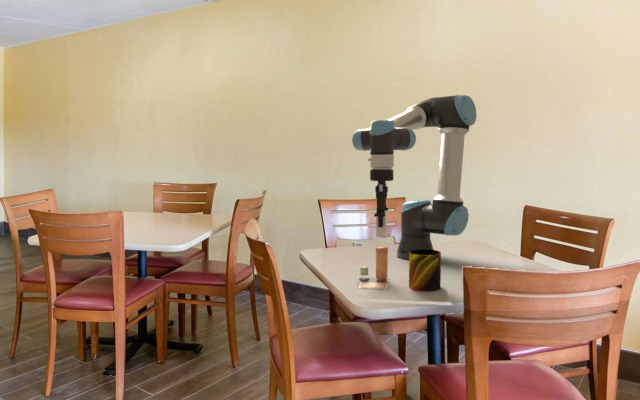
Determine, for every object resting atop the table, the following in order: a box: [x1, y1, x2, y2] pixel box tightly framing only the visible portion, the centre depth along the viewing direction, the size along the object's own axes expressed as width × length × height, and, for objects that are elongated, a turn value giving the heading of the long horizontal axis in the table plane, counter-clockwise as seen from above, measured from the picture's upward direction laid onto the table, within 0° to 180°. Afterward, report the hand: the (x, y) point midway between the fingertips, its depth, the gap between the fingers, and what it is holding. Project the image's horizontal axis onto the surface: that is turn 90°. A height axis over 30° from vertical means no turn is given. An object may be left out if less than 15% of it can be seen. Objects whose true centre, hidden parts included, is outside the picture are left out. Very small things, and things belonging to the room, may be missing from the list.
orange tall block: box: [375, 246, 389, 282], centre depth 160 cm, size 4×4×11 cm
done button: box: [359, 265, 369, 276], centre depth 162 cm, size 3×3×2 cm
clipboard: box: [356, 277, 390, 291], centre depth 158 cm, size 10×14×1 cm
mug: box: [408, 249, 442, 293], centre depth 154 cm, size 10×14×12 cm
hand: (381, 233), depth 159 cm, fingers open, 13 cm apart
